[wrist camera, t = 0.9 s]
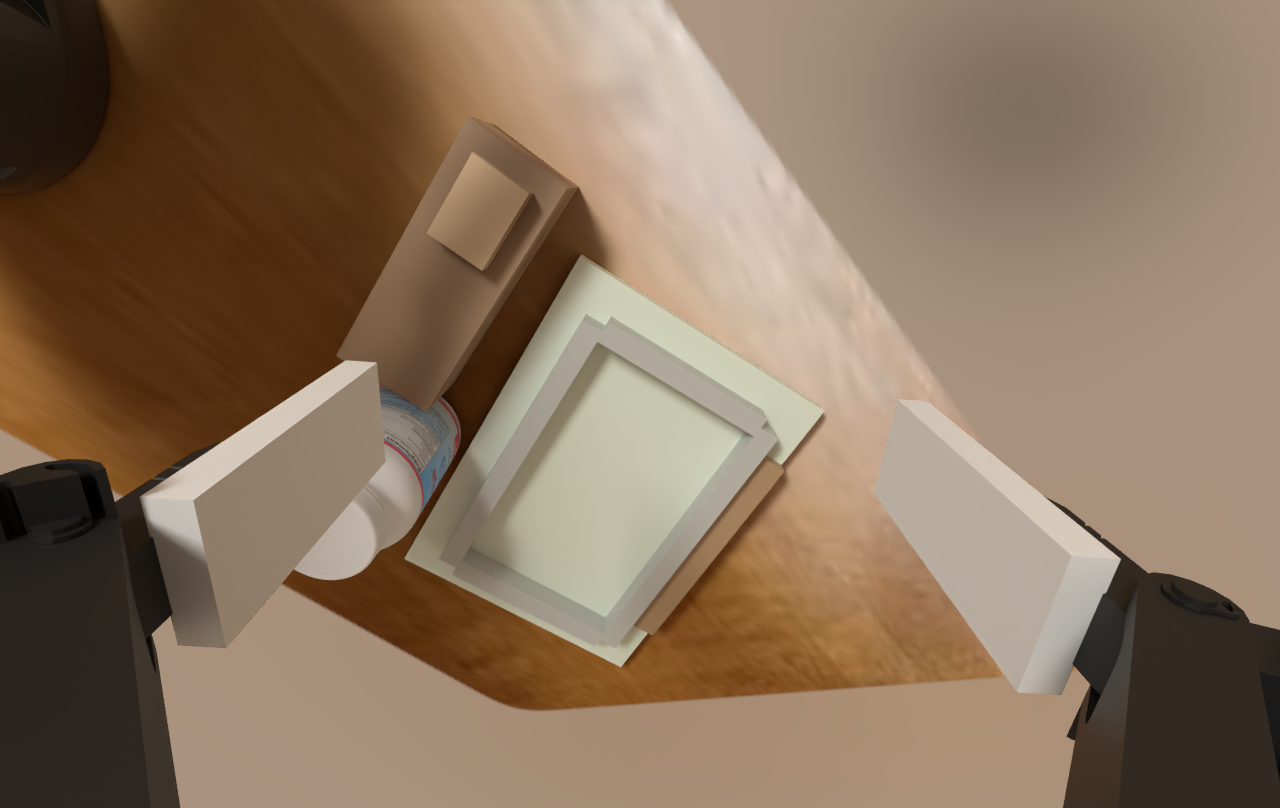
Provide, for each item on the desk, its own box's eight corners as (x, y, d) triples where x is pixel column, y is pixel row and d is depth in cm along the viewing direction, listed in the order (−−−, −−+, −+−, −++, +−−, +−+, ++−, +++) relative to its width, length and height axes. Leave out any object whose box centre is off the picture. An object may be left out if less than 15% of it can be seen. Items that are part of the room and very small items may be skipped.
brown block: (379, 331, 34) (325, 361, 28) (496, 125, 30) (460, 113, 25) (456, 380, 35) (419, 419, 29) (579, 186, 31) (563, 189, 26)
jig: (410, 549, 39) (394, 573, 37) (581, 254, 32) (576, 260, 30) (621, 656, 42) (619, 684, 39) (819, 404, 35) (832, 421, 33)
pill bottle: (417, 488, 37) (333, 618, 27) (338, 419, 35) (215, 531, 25) (485, 430, 36) (424, 544, 25) (406, 356, 34) (306, 446, 24)
